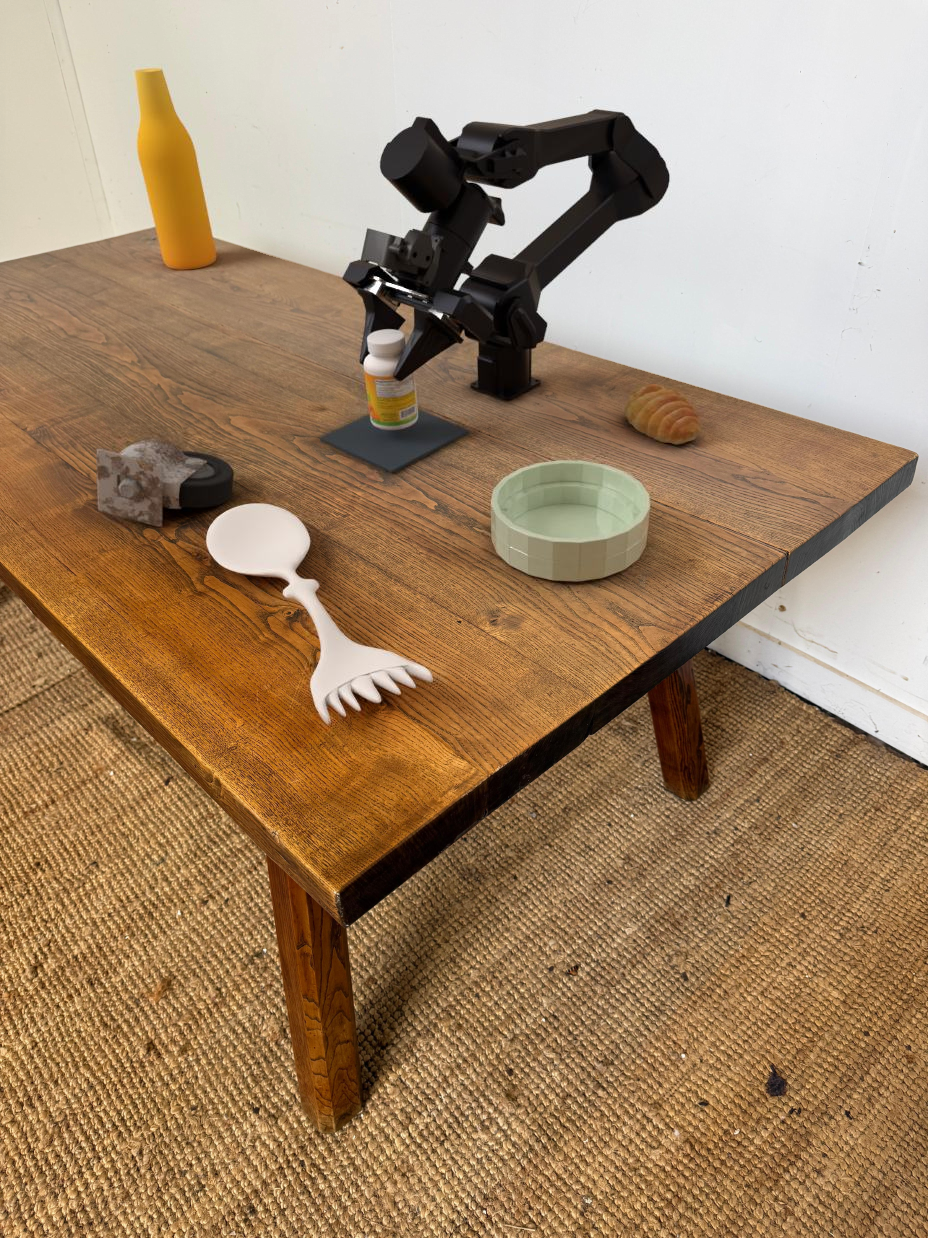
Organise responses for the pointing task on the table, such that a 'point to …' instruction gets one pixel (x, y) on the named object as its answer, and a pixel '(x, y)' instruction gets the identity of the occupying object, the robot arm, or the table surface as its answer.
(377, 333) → the supplement bottle
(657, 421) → the pastry
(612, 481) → the bowl
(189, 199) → the beer bottle
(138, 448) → the caster wheel
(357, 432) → the mat
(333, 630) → the spoon
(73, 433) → the table surface
